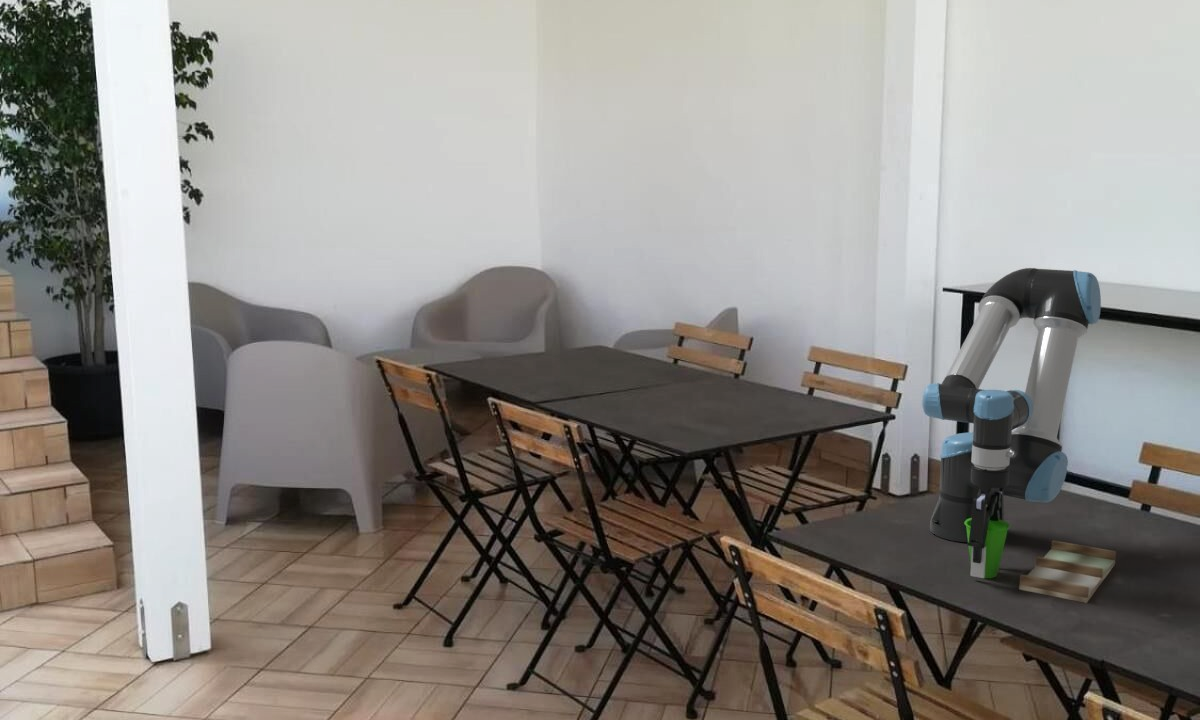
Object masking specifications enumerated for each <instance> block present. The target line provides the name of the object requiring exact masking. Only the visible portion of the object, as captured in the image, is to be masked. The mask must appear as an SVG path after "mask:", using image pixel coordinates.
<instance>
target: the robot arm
mask: <svg viewBox="0 0 1200 720" xmlns="http://www.w3.org/2000/svg"><path fill="white" fill-rule="evenodd" d="M1099 283H1100V282H1099V280H1098V279H1097V276H1096V275H1094V273H1092V272H1089V271H1088V272H1087V271H1079V270H1077V269H1073V270H1065V269H1052V268H1051V269H1050V268H1048V269H1047V268H1035V267H1027V268H1026V267H1025V268H1021V269H1018V270H1015V271H1012V272H1010V273H1008V274H1006V275H1005V276H1003V277H1002V278H1000V279H999V280H997V281H996V282H995V283H993V284H992V285H991V286H990V287H989V288H988V290H986V292H985V293H984V295H983V296H982V297H981V300H980V301H979V303H978V306H977V310H978V311H977V312H978V315H977V317H976V319H975V320H974V322H973V324H972V326H971V328H970V329H969V332H968V334H967V336H966V338H965V339H964V340H963V343H962V345H961V347H960V349H959V351H958V353H957V354H956V357H955V359H954V361H953V362H952V364H951V366H950V368H949V370H948V372H947V374H946V375H945V377H944V379H943V381H942V382H941V383H939V382H936V383H933V382H932V383H930V384H928V385H926V387H925V389H924V391H923V394H922V400H921V401H922V409H923V412H924V414H925V415H926V416H927V417H930V418H934V419H938V420H942V421H953V422H961V423H968V424H973V427H972V428H973V429H972V431H973V432H972V431H971V432H962V433H960V432H959V433H955V434H952V435H951V434H950V435H949V436H947V437H945V439H944V440H943V441H942V445H941V454H940V456H939V457H940V472H939V473H940V474H939V497H938V499H937V502H936V505H935V508H934V510H933V513H932V516H931V517H930V524H929V531H930V532H931V533H932V534H933V535H934V534H935V536H937V537H939V538H942V539H945V540H949V541H952V542H960V543H967V546H968V547H969V546H972V554H971V564H970V575H969V576H971V577H975V578H979V579H985V578H984V577H985V561H986V547H985V541H986V536H987V530H988V525H989V520H991V521H998V520H1003V521H1005V519H1004V518H1005V517H1004V516H1005V513H1004V512H1005V511H1004V510H1005V509H1004V507H1005V506H1004V502H1005V501H1004V497H1007V498H1013V499H1018V500H1025V501H1027V502H1035V503H1036V502H1037V503H1043V504H1044V503H1046V504H1047V503H1049V502H1052V501H1053V500H1055V498H1056V497H1057V496H1058V495H1059V493H1060V492H1061V489H1062V487H1063V486H1064V484H1065V480H1066V477H1067V472H1068V465H1069V464H1068V463H1069V461H1068V460H1069V459H1068V456H1067V454H1066V453H1065V452H1063V451H1062V450H1063V445H1062V443H1061V442H1060V440H1059V439H1058V434H1059V429H1060V424H1061V421H1062V415H1063V411H1064V406H1065V405H1064V404H1065V402H1066V396H1067V391H1068V388H1069V387H1068V386H1069V383H1070V377H1071V373H1072V369H1073V362H1074V358H1075V354H1076V350H1077V345H1078V340H1079V338H1081V337H1082V336H1084V335H1086V334H1087V332H1088V328H1089V325H1095V324H1097V323H1098V322H1099V319H1100V317H1101V316H1100V315H1101V307H1102V301H1101V300H1102V299H1101V289H1100V285H1099ZM1024 318H1025V319H1026V318H1027V319H1033V325H1034V327H1035V328H1036V329H1037V331H1038V333H1037V337H1036V342H1035V346H1034V351H1033V355H1032V360H1031V365H1030V369H1029V374H1028V378H1027V381H1026V382H1027V383H1026V386H1025V387H1026V388H1025V391H1022V390H1019V389H1013V390H1012V389H1009V390H1007V391H1006V390H1001V389H981V388H980V386H981V385H982V384H983V383H982V382H983V381H984V379H985V377H986V375H987V372H988V371H989V369H990V367H991V365H992V363H993V362H994V359H995V357H996V356H997V354H998V352H999V350H1000V348H1001V346H1002V344H1003V342H1004V340H1005V338H1006V336H1007V334H1008V333H1009V330H1010V328H1013V327H1015V326H1016V325H1017V324H1018V323H1019V321H1020V319H1024ZM969 518H972V520H971V528H970V536H969V542H968V537H967V528H966V525H965V524H964V523H965V521H966V520H967V519H969Z"/></svg>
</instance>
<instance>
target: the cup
mask: <svg viewBox="0 0 1200 720" xmlns="http://www.w3.org/2000/svg"><path fill="white" fill-rule="evenodd" d="M971 520H972V518H969V519H967V520H966V521H965V523H964V524H965V525H966V528H967V537H968V542H969V536H970V528H971ZM1010 528H1011V526H1010V523H1008V522H1007V521H1005V520H1004V521H1003V520H998V521H991V520H989V525H988V530H987V536H986V541H985V547H986V561H985V577H984V578H983V579H993V577H994V578H995V577H997V575H998V573H999V570H1000V569H999V568H1000V564H1001V560H1002V556H1003V552H1004V548H1005V543H1006V540H1007V535H1008V530H1009V529H1010ZM968 542H967V543H968ZM968 552H969V553H968V554H969V562H970V565H971V554H972V546H968Z"/></svg>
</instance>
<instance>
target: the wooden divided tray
mask: <svg viewBox="0 0 1200 720" xmlns="http://www.w3.org/2000/svg"><path fill="white" fill-rule="evenodd" d="M1050 548H1051V549H1050V550H1049V551H1048V552H1047V553H1045V555H1044V556H1043V557H1042V556H1036V562H1035V566H1034V568H1032V570H1031V571H1030V572H1029V573H1028V574H1022V573H1021V574H1020V575H1019V587H1018V589H1019V590H1021V591H1024V592H1025V591H1026V592H1030V593H1031V592H1032V593H1034V594H1041V595H1046V596H1050V597H1056V598H1058V599H1059V598H1060V599H1065V600H1070V601H1074V602H1075V601H1076V602H1080V603H1085V604H1087V603H1088V602H1089V600H1090V599H1091V598H1092V597H1093V595H1094V594H1095V592H1096V591H1097V590H1098V588H1099V587H1100V586H1101V584H1102V583H1103V581H1104V580H1105V579H1106V577H1107V576H1108V575H1109V573H1110V572H1111V571H1112V570H1113V568H1114V567H1115V565H1116V556H1117V550H1111V549H1107V548H1106V549H1105V548H1100V547H1094V546H1090V545H1082V544H1078V543H1072V542H1067V541H1066V542H1065V541H1061V540H1055V539H1052V541H1051V547H1050Z"/></svg>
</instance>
